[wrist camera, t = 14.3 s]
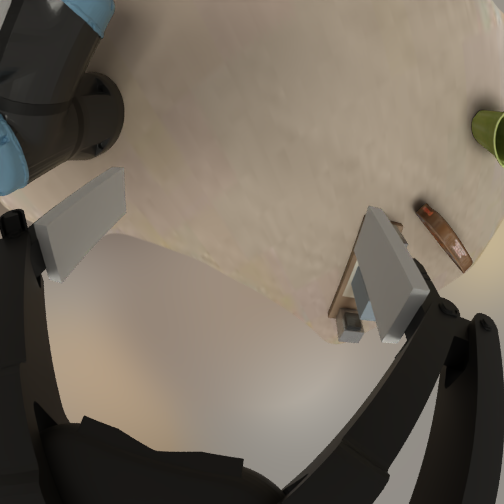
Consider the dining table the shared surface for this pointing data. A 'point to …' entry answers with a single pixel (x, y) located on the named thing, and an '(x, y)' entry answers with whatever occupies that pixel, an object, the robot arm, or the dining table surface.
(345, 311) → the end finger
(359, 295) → the block
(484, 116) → the plant pot
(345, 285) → the brown flat board
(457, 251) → the tin
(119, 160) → the dining table surface
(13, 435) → the robot arm
